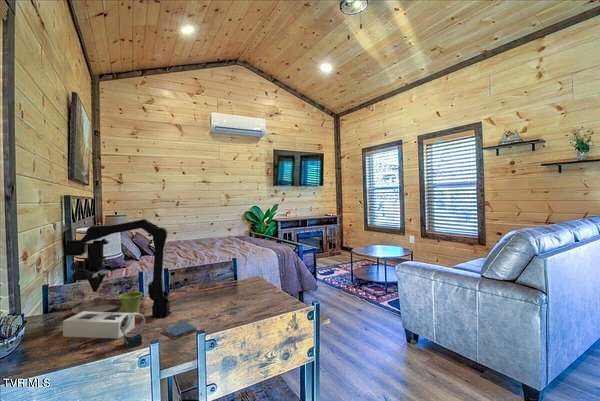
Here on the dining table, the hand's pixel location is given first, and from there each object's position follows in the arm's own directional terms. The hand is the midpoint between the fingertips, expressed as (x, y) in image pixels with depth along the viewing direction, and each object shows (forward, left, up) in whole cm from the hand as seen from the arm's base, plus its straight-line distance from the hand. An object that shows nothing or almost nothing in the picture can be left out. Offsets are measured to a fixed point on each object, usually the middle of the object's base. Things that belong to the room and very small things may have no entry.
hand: (95, 291), depth 131 cm
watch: (-28, +18, -13) cm, 36 cm away
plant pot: (-9, -11, -13) cm, 19 cm away
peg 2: (-14, +9, -13) cm, 21 cm away
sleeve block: (-9, +9, -13) cm, 18 cm away
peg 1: (-4, +9, -13) cm, 16 cm away
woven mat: (-40, +6, -14) cm, 43 cm away
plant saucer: (+7, -12, -14) cm, 19 cm away
